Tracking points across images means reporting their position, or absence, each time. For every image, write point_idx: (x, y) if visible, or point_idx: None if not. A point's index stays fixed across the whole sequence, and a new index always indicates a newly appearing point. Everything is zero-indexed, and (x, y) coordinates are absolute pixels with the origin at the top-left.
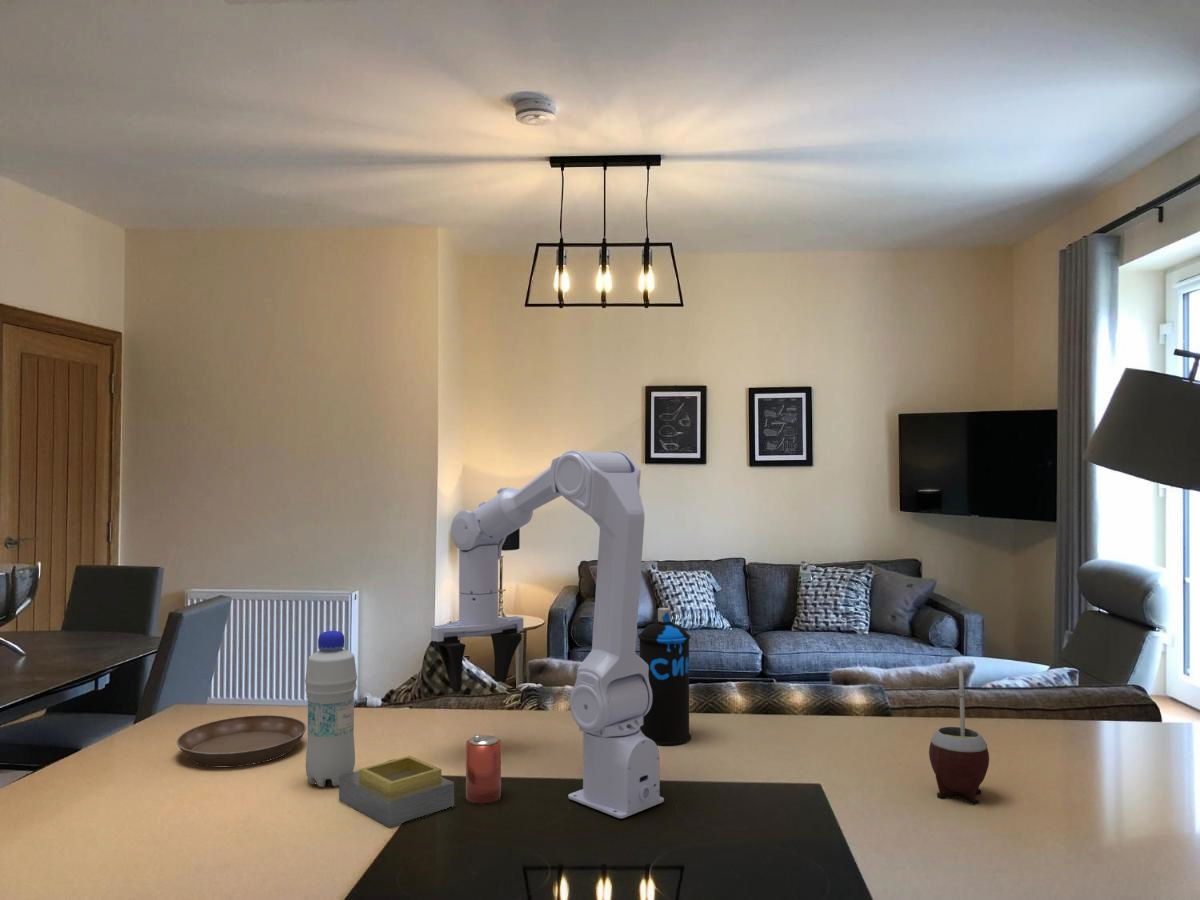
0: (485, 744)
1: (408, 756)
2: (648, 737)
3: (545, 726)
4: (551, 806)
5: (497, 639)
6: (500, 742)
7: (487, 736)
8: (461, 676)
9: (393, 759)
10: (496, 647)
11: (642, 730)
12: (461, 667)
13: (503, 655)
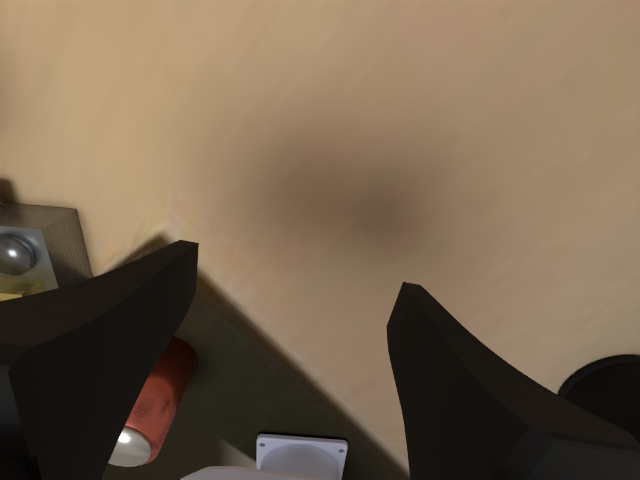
0: (109, 462)
1: (16, 297)
2: (568, 399)
3: (593, 164)
4: (226, 429)
5: (468, 465)
6: (148, 462)
7: (137, 441)
8: (168, 340)
9: (8, 240)
10: (454, 400)
11: (585, 394)
12: (145, 378)
13: (416, 423)
